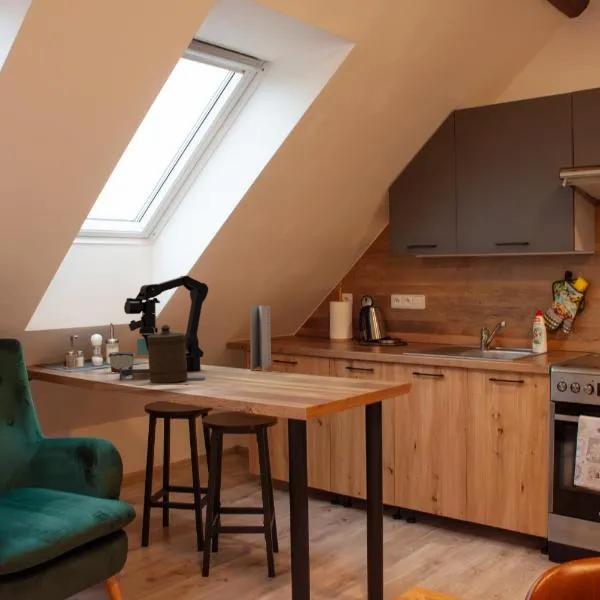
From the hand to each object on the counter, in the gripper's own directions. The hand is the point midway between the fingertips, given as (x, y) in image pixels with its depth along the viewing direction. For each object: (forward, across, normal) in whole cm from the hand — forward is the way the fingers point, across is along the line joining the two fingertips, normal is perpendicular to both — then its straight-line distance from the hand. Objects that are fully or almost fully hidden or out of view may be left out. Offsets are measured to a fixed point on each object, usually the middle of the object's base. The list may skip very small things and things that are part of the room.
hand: (149, 350), depth 338 cm
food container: (+12, -22, -14) cm, 29 cm away
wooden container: (+11, +24, +10) cm, 29 cm away
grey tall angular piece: (+12, -7, +48) cm, 50 cm away
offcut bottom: (+12, +9, 0) cm, 15 cm away
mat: (+12, +16, +18) cm, 27 cm away
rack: (+12, +2, 0) cm, 12 cm away
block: (+2, 0, 0) cm, 2 cm away
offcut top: (+11, +8, 0) cm, 14 cm away
